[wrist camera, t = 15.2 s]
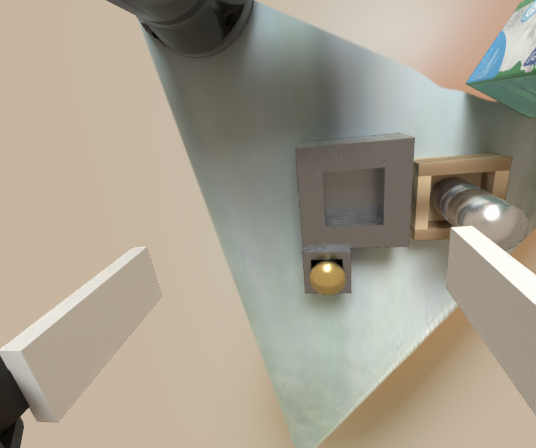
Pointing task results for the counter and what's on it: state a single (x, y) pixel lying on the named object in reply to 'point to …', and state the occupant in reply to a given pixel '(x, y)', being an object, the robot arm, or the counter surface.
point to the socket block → (353, 197)
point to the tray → (463, 166)
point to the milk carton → (511, 63)
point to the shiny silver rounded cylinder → (479, 211)
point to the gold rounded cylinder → (327, 277)
